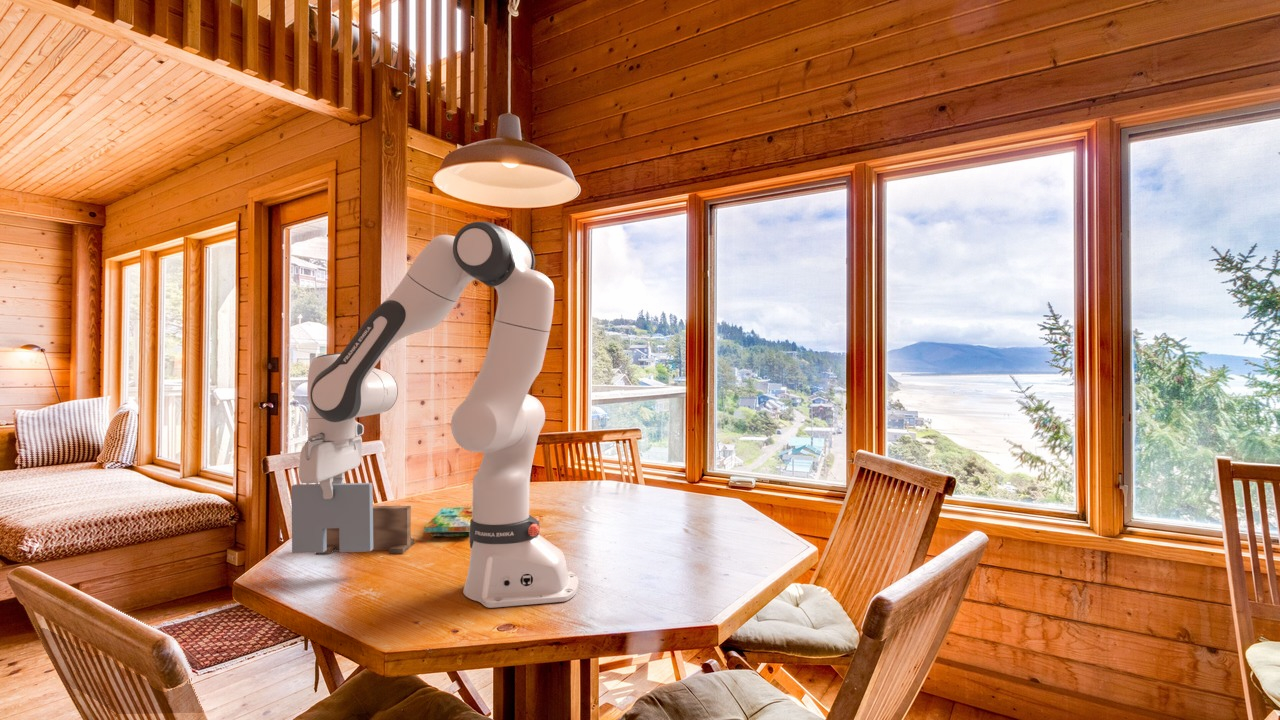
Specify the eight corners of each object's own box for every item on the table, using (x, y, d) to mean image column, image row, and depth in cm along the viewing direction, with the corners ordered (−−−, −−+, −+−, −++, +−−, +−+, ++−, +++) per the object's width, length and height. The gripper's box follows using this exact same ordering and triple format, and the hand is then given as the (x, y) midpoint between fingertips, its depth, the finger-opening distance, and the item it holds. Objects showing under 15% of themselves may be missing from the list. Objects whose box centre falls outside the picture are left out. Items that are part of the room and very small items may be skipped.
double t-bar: (414, 543, 147) (414, 503, 147) (402, 553, 139) (403, 511, 139) (332, 543, 147) (332, 503, 147) (315, 554, 139) (316, 511, 139)
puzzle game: (485, 504, 170) (472, 523, 150) (485, 520, 170) (471, 541, 150) (443, 504, 169) (424, 523, 149) (443, 521, 169) (424, 542, 149)
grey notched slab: (373, 549, 126) (372, 482, 126) (370, 551, 124) (369, 484, 125) (296, 550, 125) (295, 484, 126) (292, 553, 124) (291, 486, 124)
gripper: (322, 436, 115) (323, 508, 115) (367, 425, 135) (367, 486, 135) (289, 437, 115) (290, 509, 115) (338, 426, 135) (339, 487, 135)
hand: (332, 496), depth 125 cm, fingers closed on grey notched slab, 2 cm apart
